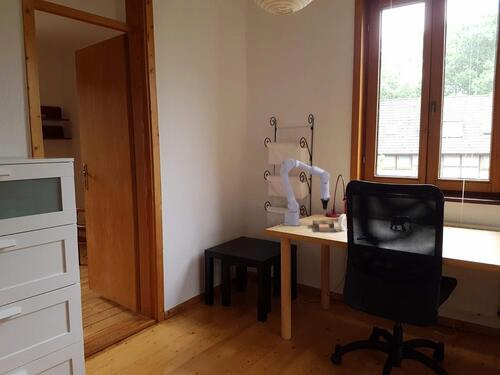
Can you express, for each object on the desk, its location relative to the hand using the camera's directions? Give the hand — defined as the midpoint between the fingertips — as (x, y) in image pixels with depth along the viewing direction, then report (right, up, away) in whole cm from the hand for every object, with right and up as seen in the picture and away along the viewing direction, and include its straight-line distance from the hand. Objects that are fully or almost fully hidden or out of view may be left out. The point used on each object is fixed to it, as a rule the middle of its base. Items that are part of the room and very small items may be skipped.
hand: (324, 209), depth 260 cm
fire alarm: (+24, -8, +6) cm, 26 cm away
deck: (-3, -11, -10) cm, 15 cm away
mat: (-4, -12, -21) cm, 24 cm away
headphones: (+11, -11, -18) cm, 24 cm away
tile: (-5, -11, -20) cm, 24 cm away
